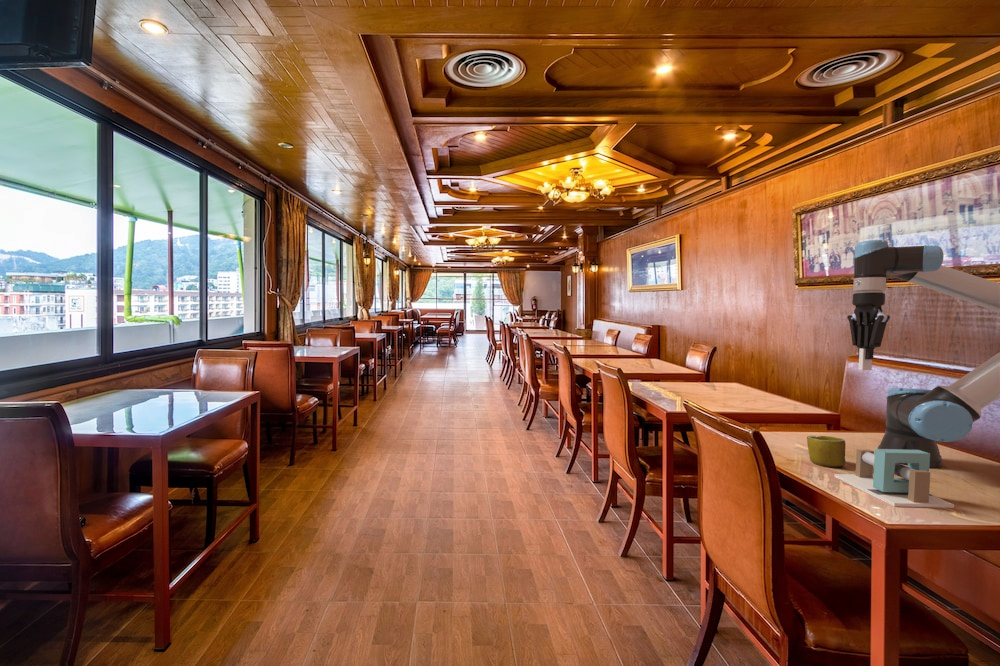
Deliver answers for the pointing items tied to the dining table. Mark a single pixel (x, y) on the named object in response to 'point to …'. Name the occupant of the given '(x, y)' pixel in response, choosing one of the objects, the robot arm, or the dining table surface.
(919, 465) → the collar
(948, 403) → the robot arm
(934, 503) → the pipe rail
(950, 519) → the dining table surface
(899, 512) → the dining table surface
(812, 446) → the mug
